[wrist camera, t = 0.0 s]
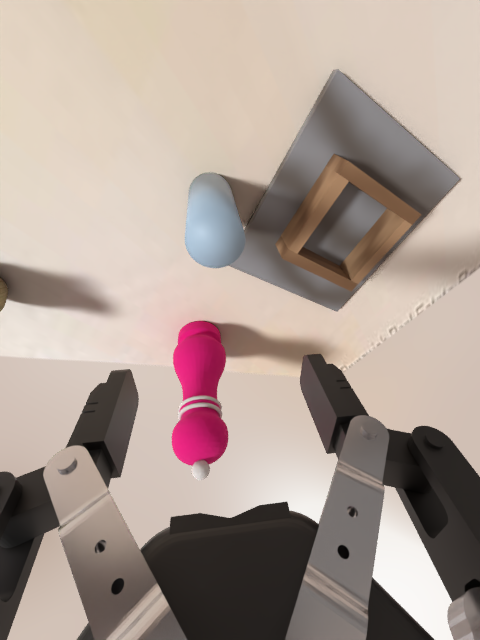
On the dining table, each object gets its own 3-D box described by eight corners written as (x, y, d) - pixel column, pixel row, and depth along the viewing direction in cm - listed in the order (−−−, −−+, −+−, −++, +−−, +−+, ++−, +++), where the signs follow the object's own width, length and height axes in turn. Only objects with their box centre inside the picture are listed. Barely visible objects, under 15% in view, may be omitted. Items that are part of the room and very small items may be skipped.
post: (199, 163, 27) (199, 199, 19) (239, 186, 29) (256, 227, 20) (182, 206, 29) (176, 254, 21) (220, 224, 31) (228, 276, 23)
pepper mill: (233, 332, 42) (253, 472, 27) (203, 358, 45) (206, 497, 30) (194, 309, 38) (193, 456, 23) (165, 339, 41) (146, 486, 26)
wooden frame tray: (333, 69, 24) (356, 67, 20) (453, 176, 31) (485, 187, 27) (227, 261, 34) (230, 280, 31) (334, 307, 41) (346, 327, 38)
